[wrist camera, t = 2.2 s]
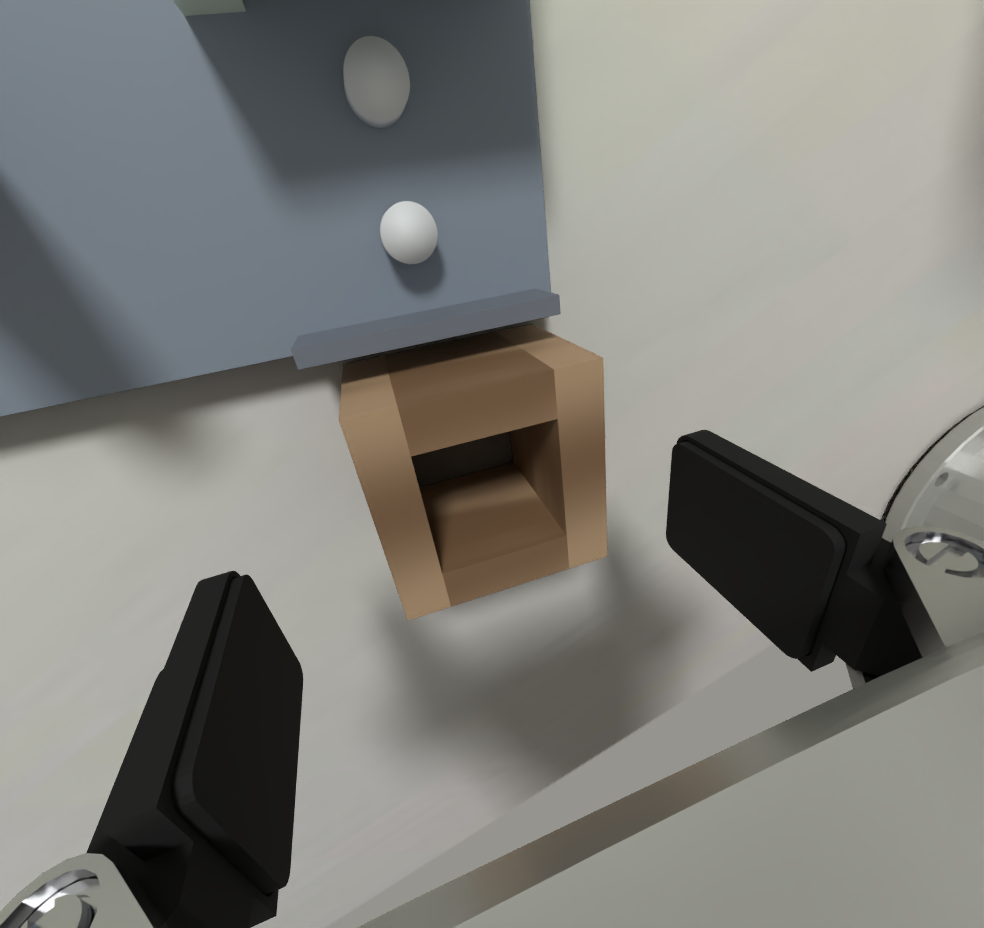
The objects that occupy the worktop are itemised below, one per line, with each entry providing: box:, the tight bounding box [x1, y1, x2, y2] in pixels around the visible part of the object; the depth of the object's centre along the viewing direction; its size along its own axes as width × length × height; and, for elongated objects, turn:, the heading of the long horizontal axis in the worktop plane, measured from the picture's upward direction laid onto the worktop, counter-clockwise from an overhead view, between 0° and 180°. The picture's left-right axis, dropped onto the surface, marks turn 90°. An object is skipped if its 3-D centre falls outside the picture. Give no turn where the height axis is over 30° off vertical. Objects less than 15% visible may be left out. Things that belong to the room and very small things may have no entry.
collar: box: [339, 324, 607, 620], centre depth 14 cm, size 6×6×5 cm
